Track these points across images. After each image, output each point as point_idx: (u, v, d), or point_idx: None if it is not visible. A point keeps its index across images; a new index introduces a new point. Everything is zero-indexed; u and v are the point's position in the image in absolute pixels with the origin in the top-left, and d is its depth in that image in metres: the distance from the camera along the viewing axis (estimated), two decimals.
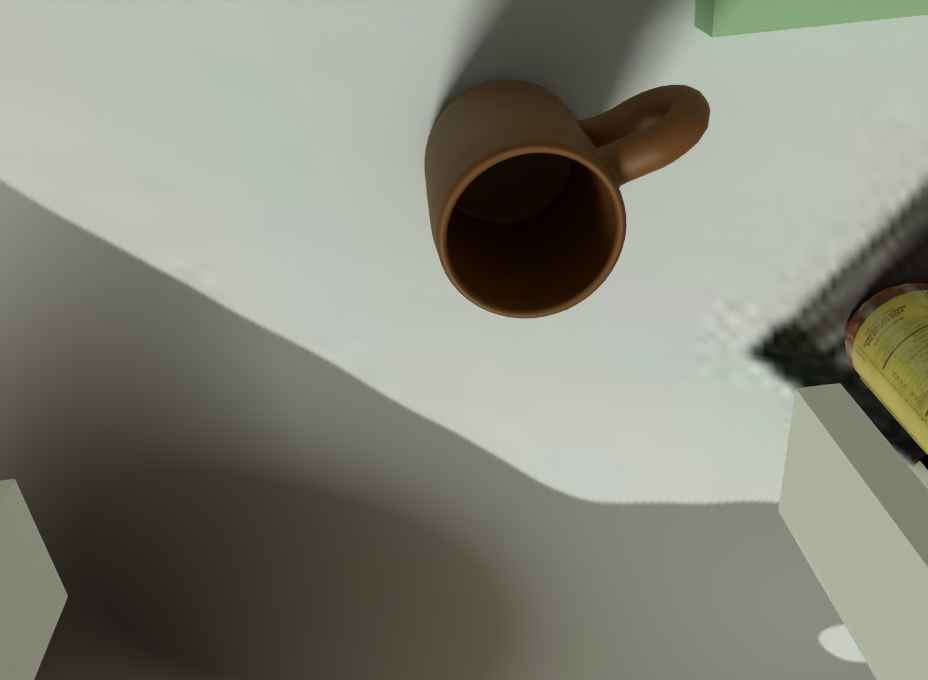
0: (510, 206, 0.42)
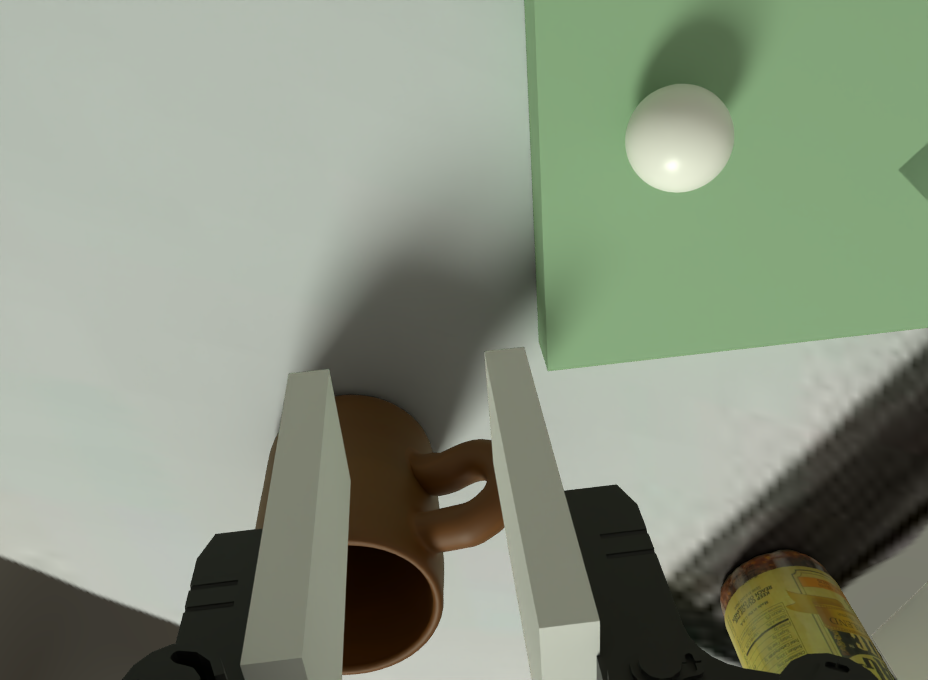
0: None
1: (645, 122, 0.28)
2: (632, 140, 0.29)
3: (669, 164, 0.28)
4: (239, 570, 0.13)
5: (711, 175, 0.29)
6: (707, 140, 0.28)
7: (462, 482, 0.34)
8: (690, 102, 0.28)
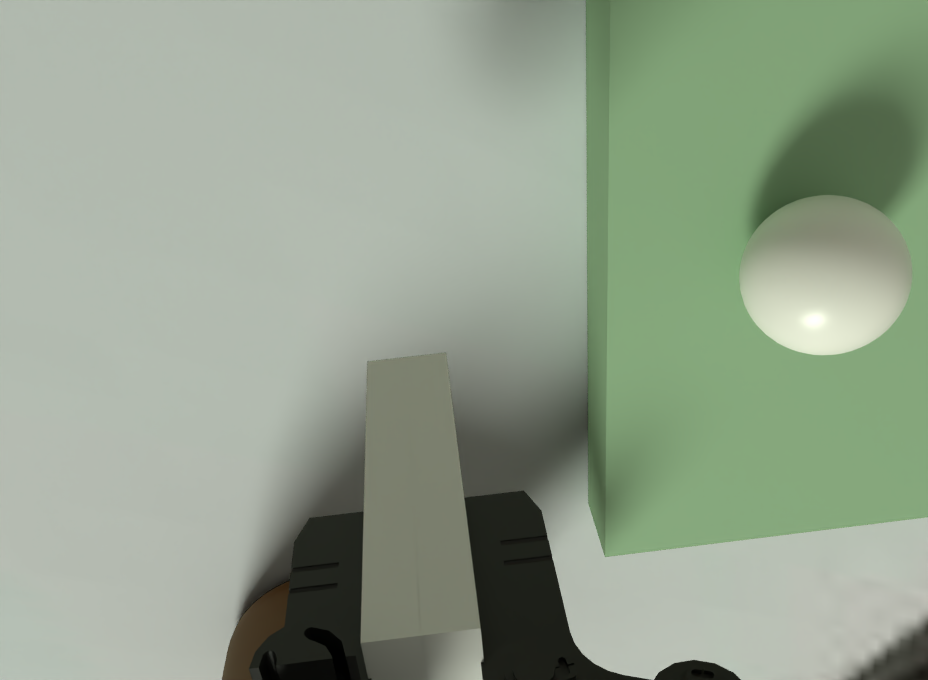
0: None
1: (781, 259, 0.18)
2: (756, 282, 0.19)
3: (818, 325, 0.18)
4: (338, 553, 0.13)
5: (877, 336, 0.19)
6: (880, 292, 0.18)
7: None
8: (854, 232, 0.18)
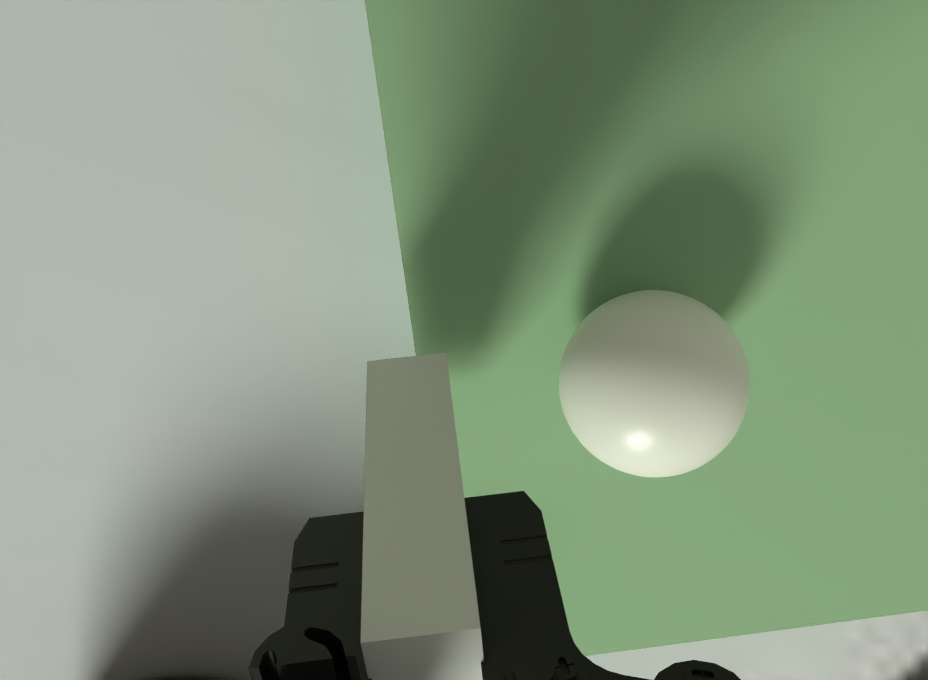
0: None
1: (589, 371, 0.16)
2: (568, 395, 0.16)
3: (633, 450, 0.15)
4: (338, 553, 0.13)
5: (709, 459, 0.16)
6: (701, 413, 0.15)
7: None
8: (669, 342, 0.15)
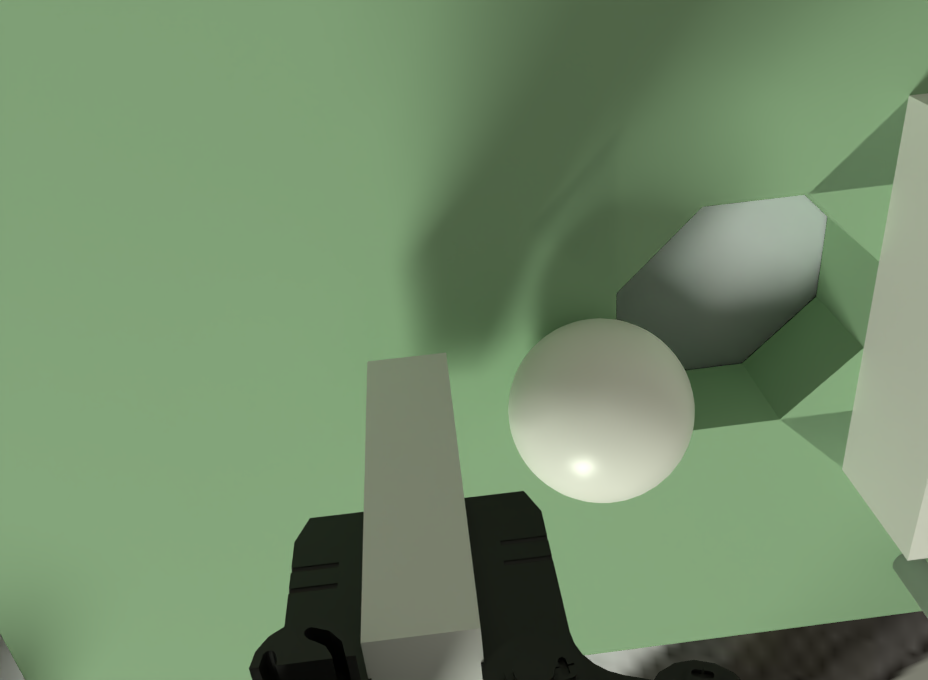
0: None
1: (520, 365, 0.17)
2: None
3: (519, 447, 0.17)
4: (338, 553, 0.13)
5: (591, 496, 0.16)
6: (567, 440, 0.15)
7: None
8: (571, 365, 0.16)
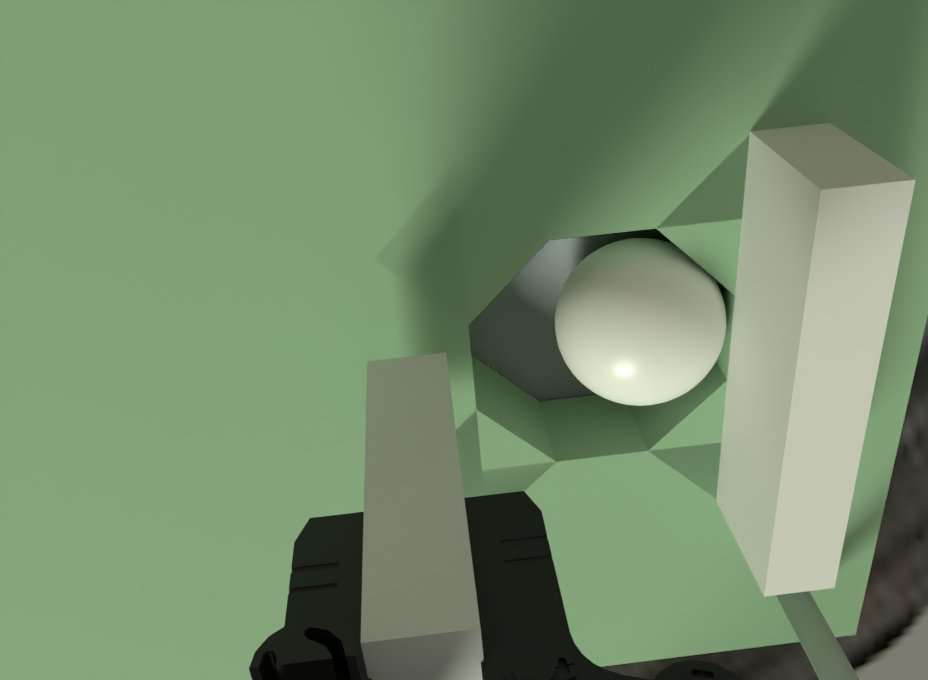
0: None
1: (693, 265, 0.17)
2: (693, 296, 0.17)
3: None
4: (338, 553, 0.13)
5: None
6: None
7: None
8: None
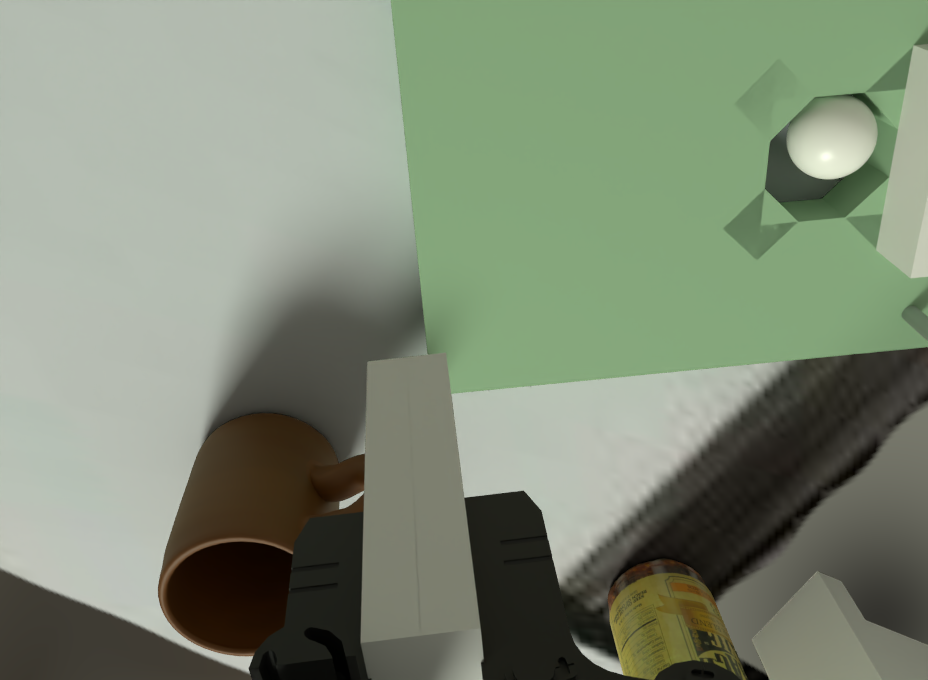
0: None
1: (859, 100, 0.36)
2: (854, 108, 0.35)
3: (876, 135, 0.36)
4: (338, 553, 0.13)
5: None
6: None
7: (351, 490, 0.40)
8: None
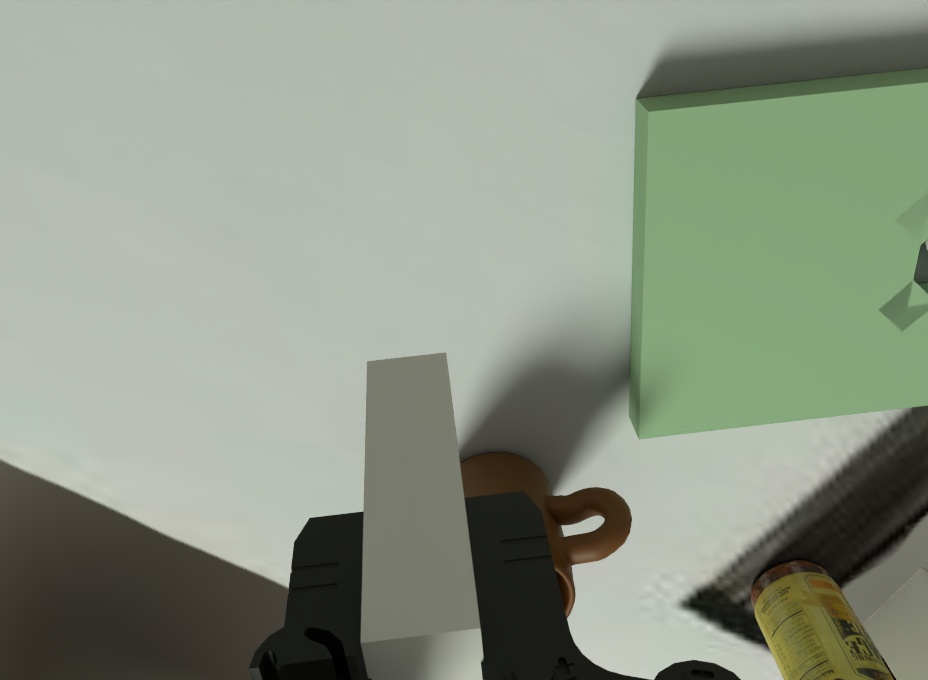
0: None
1: None
2: None
3: None
4: (338, 553, 0.13)
5: None
6: None
7: (583, 516, 0.51)
8: None
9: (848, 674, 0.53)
